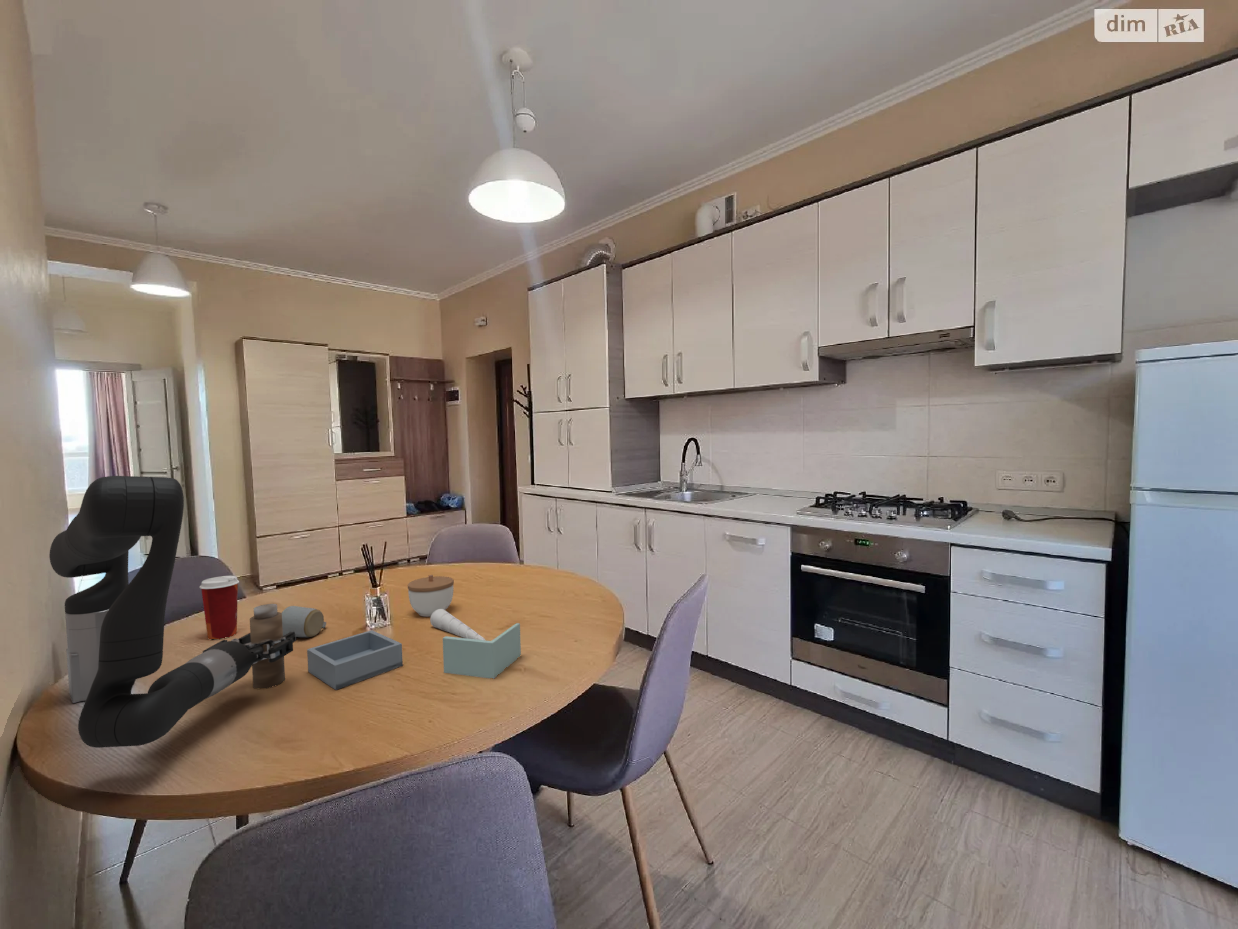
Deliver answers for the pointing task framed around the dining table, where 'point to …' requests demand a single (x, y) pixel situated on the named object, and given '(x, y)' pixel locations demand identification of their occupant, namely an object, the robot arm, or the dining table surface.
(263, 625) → the pepper mill
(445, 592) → the lidded bowl
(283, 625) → the ceramic mug
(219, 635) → the coffee cup
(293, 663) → the dining table surface
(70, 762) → the dining table surface
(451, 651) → the right angle wall
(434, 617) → the unicorn horn
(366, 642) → the bin
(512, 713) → the dining table surface
